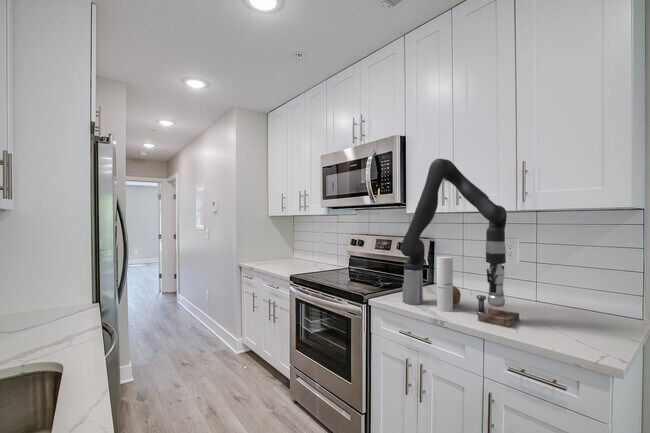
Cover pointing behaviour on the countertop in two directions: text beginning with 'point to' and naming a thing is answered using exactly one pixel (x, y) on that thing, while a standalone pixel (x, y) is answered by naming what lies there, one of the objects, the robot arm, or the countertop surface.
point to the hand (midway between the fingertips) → (495, 291)
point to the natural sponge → (456, 295)
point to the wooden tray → (499, 317)
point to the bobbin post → (481, 304)
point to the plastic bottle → (497, 289)
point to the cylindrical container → (445, 283)
